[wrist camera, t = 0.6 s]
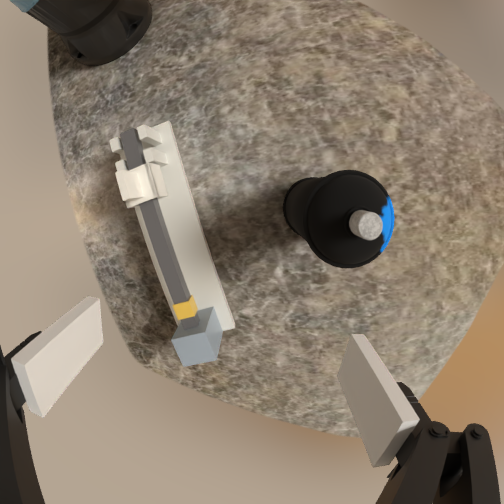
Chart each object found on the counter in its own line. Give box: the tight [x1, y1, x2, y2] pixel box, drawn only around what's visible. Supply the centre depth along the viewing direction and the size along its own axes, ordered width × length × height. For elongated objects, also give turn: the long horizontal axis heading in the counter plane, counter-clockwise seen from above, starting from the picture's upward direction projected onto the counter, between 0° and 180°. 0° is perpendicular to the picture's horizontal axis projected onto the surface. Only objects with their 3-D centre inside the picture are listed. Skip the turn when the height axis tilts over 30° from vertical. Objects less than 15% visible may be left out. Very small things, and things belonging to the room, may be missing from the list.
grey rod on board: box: [110, 121, 235, 366], centre depth 35 cm, size 30×8×9 cm, turn 17°
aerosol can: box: [283, 170, 394, 268], centre depth 29 cm, size 8×8×20 cm
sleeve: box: [115, 162, 168, 208], centre depth 30 cm, size 4×4×8 cm
